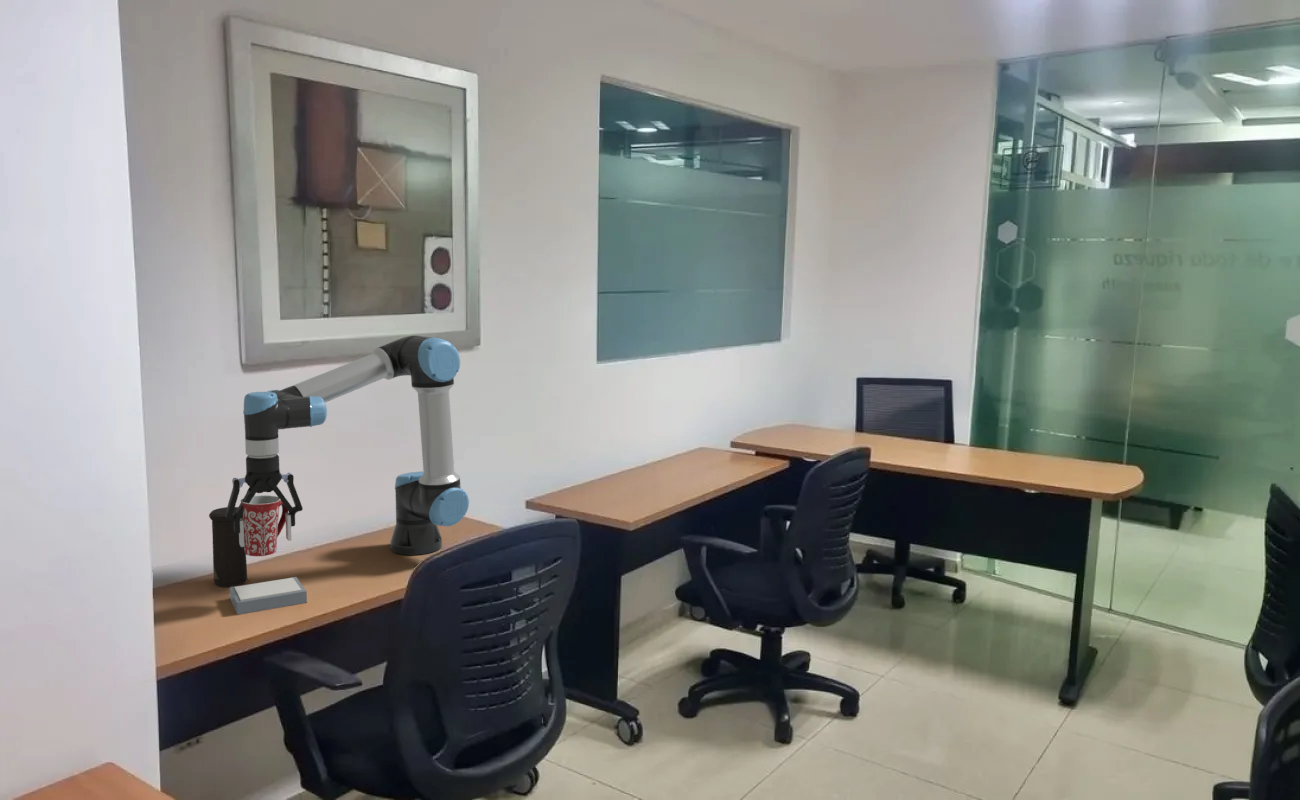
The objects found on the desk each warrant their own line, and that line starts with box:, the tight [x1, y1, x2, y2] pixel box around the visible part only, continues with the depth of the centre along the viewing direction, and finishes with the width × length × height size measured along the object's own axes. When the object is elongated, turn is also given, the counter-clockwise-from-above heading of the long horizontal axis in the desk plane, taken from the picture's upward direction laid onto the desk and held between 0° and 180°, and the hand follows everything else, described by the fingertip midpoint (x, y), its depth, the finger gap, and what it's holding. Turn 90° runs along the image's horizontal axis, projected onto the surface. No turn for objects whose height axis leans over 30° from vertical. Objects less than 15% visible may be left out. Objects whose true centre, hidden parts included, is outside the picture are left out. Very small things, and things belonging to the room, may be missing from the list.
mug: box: [240, 494, 289, 557], centre depth 221 cm, size 13×9×14 cm
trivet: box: [229, 576, 308, 616], centre depth 223 cm, size 16×12×3 cm
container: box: [208, 506, 248, 588], centre depth 234 cm, size 9×9×20 cm
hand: (265, 542), depth 221 cm, fingers closed on mug, 10 cm apart
